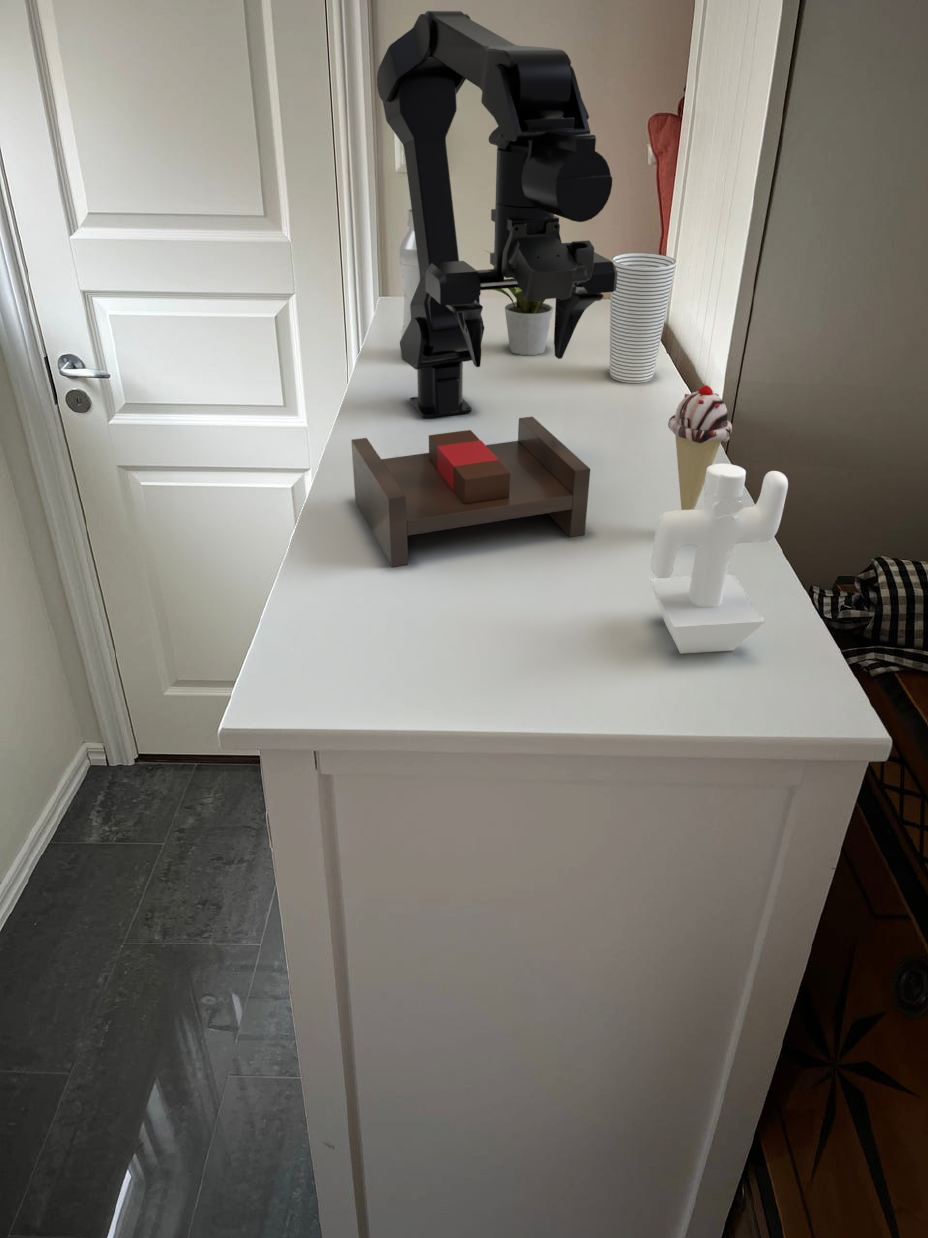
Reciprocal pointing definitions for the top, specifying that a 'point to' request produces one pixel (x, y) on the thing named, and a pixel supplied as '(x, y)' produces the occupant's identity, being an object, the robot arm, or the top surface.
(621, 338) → the cup
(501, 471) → the chocolate bar
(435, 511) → the shelf
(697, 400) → the ice cream cone
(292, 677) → the top surface
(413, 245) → the plastic bottle
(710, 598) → the figurine
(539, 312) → the house plant
